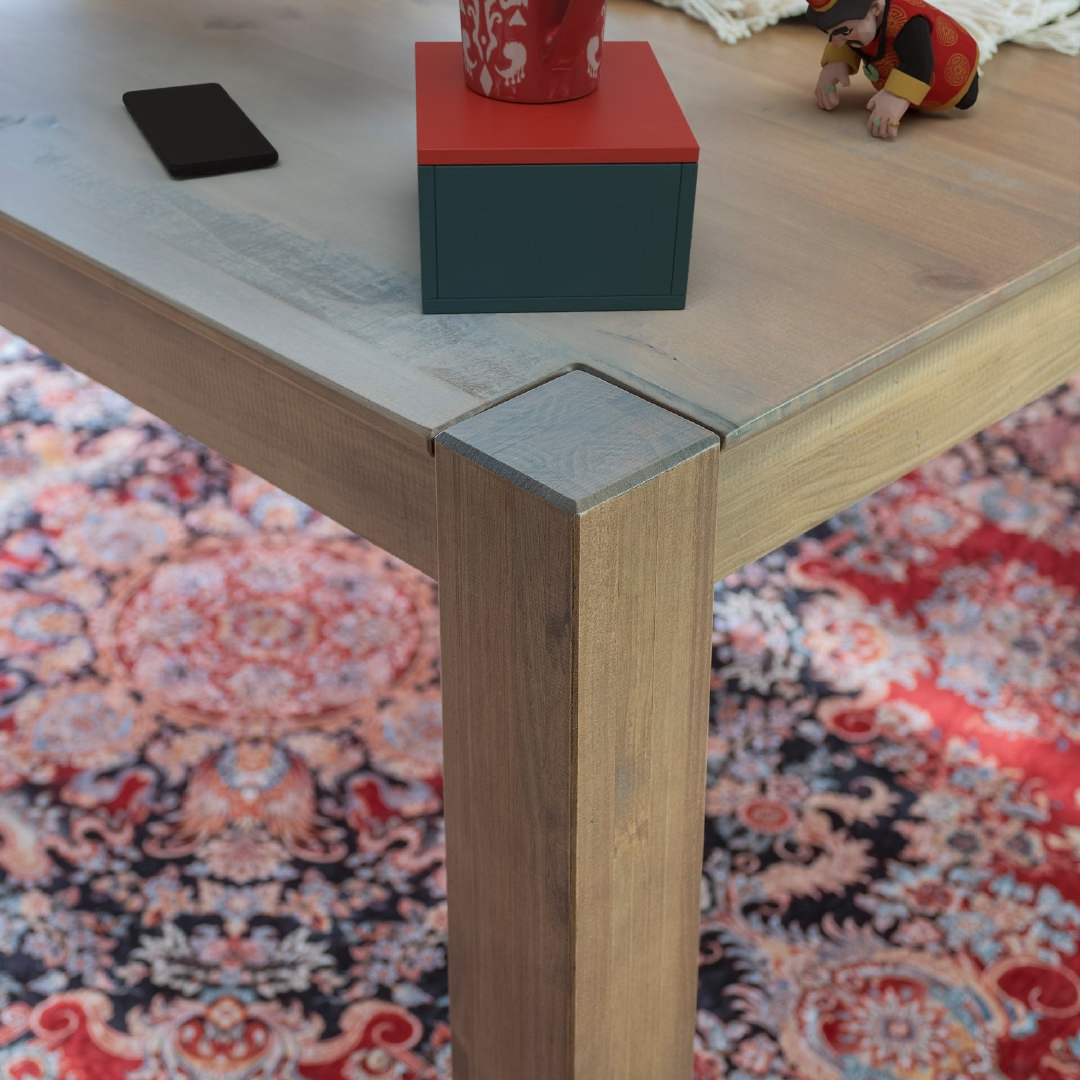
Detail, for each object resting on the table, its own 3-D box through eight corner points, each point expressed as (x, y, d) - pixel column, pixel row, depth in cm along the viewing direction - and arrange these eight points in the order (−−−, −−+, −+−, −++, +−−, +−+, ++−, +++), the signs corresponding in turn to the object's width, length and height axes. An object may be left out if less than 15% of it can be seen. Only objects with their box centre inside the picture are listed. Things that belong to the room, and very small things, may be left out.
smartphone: (219, 81, 96) (280, 152, 85) (220, 92, 97) (282, 166, 86) (119, 91, 94) (169, 167, 83) (121, 103, 94) (171, 180, 83)
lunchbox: (419, 189, 83) (415, 59, 79) (640, 187, 84) (649, 58, 80) (422, 314, 70) (417, 166, 65) (685, 309, 71) (698, 163, 66)
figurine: (860, 144, 102) (722, 67, 93) (920, 20, 100) (785, -72, 91) (952, 176, 95) (813, 97, 86) (1020, 43, 93) (884, -54, 83)
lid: (415, 55, 79) (414, 41, 79) (647, 54, 80) (648, 40, 80) (417, 165, 65) (416, 149, 65) (698, 162, 66) (700, 146, 66)
